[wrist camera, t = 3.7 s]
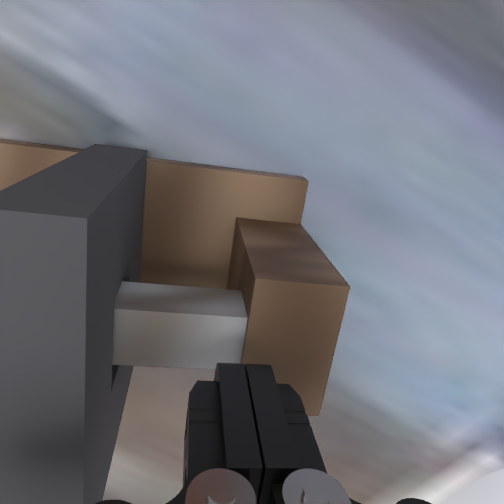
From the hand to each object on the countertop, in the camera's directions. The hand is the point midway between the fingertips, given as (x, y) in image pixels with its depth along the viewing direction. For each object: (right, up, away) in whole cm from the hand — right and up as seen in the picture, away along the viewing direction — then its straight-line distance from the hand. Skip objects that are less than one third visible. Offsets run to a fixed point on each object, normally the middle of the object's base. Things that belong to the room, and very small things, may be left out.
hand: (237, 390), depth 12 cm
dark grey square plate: (-6, +3, +7) cm, 9 cm away
